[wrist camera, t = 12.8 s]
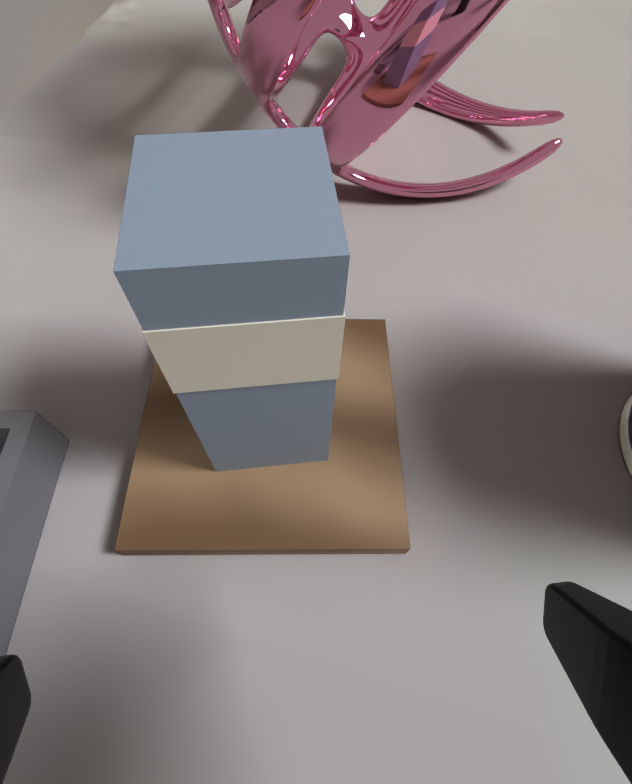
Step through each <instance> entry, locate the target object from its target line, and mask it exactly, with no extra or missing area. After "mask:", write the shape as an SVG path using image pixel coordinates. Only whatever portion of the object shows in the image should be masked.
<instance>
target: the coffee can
mask: <svg viewBox="0 0 632 784" xmlns="http://www.w3.org/2000/svg"><path fill="white" fill-rule="evenodd" d="M619 436H620V446H621V451H622V454H623V457H624V460H625V463H626V465H627V467H628V470H629V472H630V474H631V476H632V395H631V396H630V397H629V399H628V400H627V402H626V404H625V406H624V409H623V411H622V415H621V419H620V427H619Z"/></svg>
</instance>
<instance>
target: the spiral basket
mask: <svg viewBox="0 0 632 784" xmlns="http://www.w3.org/2000/svg"><path fill="white" fill-rule="evenodd" d="M207 1H208V3H209V6H210V9H211V12H212V14H213V17H214V20H215V22H216V25H217V27H218V30H219V32H220V35H221V37H222V39H223V42H224V44H225V46H226V48H227V51H228V53H229V55H230V57H231V59H232V61H233V63H234V65H235V67H236V69H237V71H238V73H239V75H240V76H241V78H242V80H243V82H244V83H245V85H246V87H247V88H248V90H249V91H250V93H251V94H252V96H253V97H254V99H255V100H256V102H257V103H258V104H259V106H260V107H261V108H262V110H263V111H264V112H265V114H266V115H267V116H268V117H269V118H270V120H271V121H272V122H273V123H274V124H275V125H276V127H277V128H298V126H297V125H296V124H295V123H294V122H293V121H292V120H291V119H290V118H289V117H288V116H287V115H286V113H285V112H284V111H283V110H282V108H281V107H280V106H279V105H278V103H277V102H276V100H275V99H276V98H277V96H278V95H279V94H280V92H281V91H282V90H283V88H284V87H285V86H286V84H287V83H288V82H289V80H290V79H291V77H292V76H293V75H294V73H295V72H296V70H297V69H298V67H299V66H300V64H301V63H302V62H303V60H304V59H305V57H306V56H307V54H308V53H309V51H310V50H311V48H312V47H313V45H314V44H315V42H316V41H317V40H318V38H319V37H320V36H321V35H323V34H324V33H331V34H333V35H335V36H336V37H337V38H338V39H339V40H340V41H341V43H342V44H343V46H344V48H345V50H346V54H347V59H346V63H345V66H344V68H343V70H342V72H341V74H340V75H339V77H338V78H337V80H336V81H335V83H334V85H333V86H332V88H331V89H330V91H329V92H328V94H327V96H326V97H325V99H324V101H323V102H322V104H321V105H320V107H319V109H318V110H317V112H316V114H315V115H314V117H313V119H312V121H311V122H310V124H309V126H308V127H319V126H322V129H323V133H324V138H325V143H326V147H327V152H328V156H329V161H330V166H331V170H332V173H333V174H335V175H337V176H339V177H340V178H342V179H345V180H347V181H349V182H351V183H353V184H356V185H358V186H361V187H364V188H367V189H370V190H373V191H376V192H380V193H384V194H389V195H394V196H401V197H410V198H440V197H449V196H456V195H461V194H466V193H470V192H474V191H478V190H481V189H485V188H488V187H491V186H493V185H496V184H499V183H501V182H503V181H506V180H508V179H510V178H512V177H514V176H517V175H519V174H520V173H522V172H524V171H526V170H528V169H530V168H531V167H533V166H535V165H536V164H538V163H540V162H541V161H543V160H544V159H546V158H547V157H549V156H550V155H551V154H553V153H554V152H555V151H556V150H557V149H558V148H559V147H560V145H561V144H562V139H561V138H556V139H553V140H551V141H549V142H547V143H545V144H543V145H541V146H540V147H538V148H536V149H535V150H533V151H531V152H529V153H528V154H526V155H524V156H522V157H521V158H519V159H517V160H515V161H513V162H511V163H509V164H506V165H504V166H502V167H499V168H497V169H494V170H492V171H489V172H486V173H483V174H480V175H477V176H473V177H469V178H465V179H460V180H455V181H448V182H438V183H413V182H403V181H397V180H391V179H387V178H383V177H379V176H376V175H373V174H370V173H367V172H364V171H362V170H359V169H357V168H355V167H353V166H351V165H349V164H348V163H349V162H351V161H352V160H354V159H355V158H356V157H358V156H359V155H360V154H362V153H363V152H364V151H365V150H366V149H368V148H369V147H370V146H371V145H372V144H373V143H374V142H376V141H377V140H378V139H379V138H380V137H381V136H382V135H383V134H384V133H385V132H386V131H387V130H388V129H390V128H391V127H392V126H393V125H394V124H395V123H396V122H397V121H398V120H399V119H400V118H401V117H402V116H403V115H404V114H405V113H406V112H407V111H408V110H409V109H410V108H411V107H412V106H413V105H414V104H415V103H416V102H417V103H419V104H421V105H423V106H425V107H427V108H429V109H431V110H433V111H436V112H438V113H441V114H444V115H446V116H449V117H452V118H456V119H459V120H463V121H467V122H472V123H477V124H483V125H491V126H503V127H523V126H536V125H544V124H550V123H554V122H557V121H559V120H561V119H562V118H563V117H564V114H563V113H562V112H560V111H552V110H544V111H529V110H517V109H510V108H504V107H499V106H495V105H491V104H488V103H484V102H481V101H478V100H476V99H473V98H470V97H468V96H465V95H463V94H461V93H459V92H457V91H455V90H453V89H451V88H449V87H447V86H445V85H443V84H442V83H440V82H438V81H437V80H438V79H439V78H440V77H441V76H442V74H443V73H444V72H445V71H446V70H447V69H448V68H449V67H450V66H451V65H452V64H453V63H454V62H455V60H456V59H457V58H458V57H459V56H460V55H461V54H462V53H463V52H464V51H465V50H466V48H467V47H468V46H469V45H470V44H471V43H472V42H473V41H474V40H475V38H476V37H477V36H478V35H479V34H480V33H481V32H482V31H483V30H484V28H485V27H486V26H487V25H488V24H489V23H490V22H491V21H492V19H493V18H494V17H495V16H496V15H497V14H498V13H499V11H500V10H501V9H502V8H503V7H504V6H505V5H506V3H507V2H508V1H509V0H389V1H388V2H387V3H386V5H385V6H384V7H383V9H382V10H381V11H380V12H379V13H378V14H376V15H375V16H373V17H368V16H365V15H364V14H362V13H361V12H360V11H359V9H358V8H357V6H356V4H355V1H354V0H253V2H252V4H251V7H250V10H249V14H248V17H247V20H246V23H245V27H244V30H243V34H242V38H241V40H240V38H239V36H238V33H237V31H236V28H235V26H234V23H233V21H232V18H231V15H230V12H229V8H232V7H234V6H235V5H237V4H238V3H239V2H241V1H242V0H207Z"/></svg>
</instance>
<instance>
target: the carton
mask: <svg viewBox="0 0 632 784" xmlns="http://www.w3.org/2000/svg"><path fill="white" fill-rule="evenodd" d="M349 257H350V254H349V249H348V245H347V240H346V235H345V231H344V226H343V221H342V217H341V212H340V207H339V203H338V198H337V194H336V189H335V184H334V180H333V175H332V170H331V166H330V161H329V156H328V152H327V147H326V143H325V138H324V133H323V129H322V126H319V127H298V128H277V129H256V130H235V131H214V132H193V133H172V134H151V135H135V139H134V145H133V151H132V158H131V164H130V170H129V176H128V183H127V189H126V195H125V201H124V208H123V214H122V220H121V227H120V233H119V239H118V245H117V252H116V258H115V264H114V270H113V272H114V274H115V276H116V278H117V279H118V281H119V283H120V285H121V287H122V289H123V291H124V293H125V295H126V297H127V299H128V301H129V303H130V305H131V307H132V309H133V311H134V313H135V315H136V316H137V318H138V320H139V322H140V324H141V326H142V334H143V336H144V338H145V340H146V342H147V344H148V346H149V348H150V350H151V351H152V353H153V355H154V357H155V359H156V361H157V363H158V365H159V367H160V369H161V371H162V373H163V374H164V376H165V378H166V380H167V382H168V384H169V386H170V388H171V390H172V392H173V394H175V393H176V394H177V396H178V398H179V400H180V402H181V404H182V406H183V408H184V410H185V412H186V414H187V416H188V418H189V420H190V422H191V424H192V426H193V428H194V430H195V432H196V433H197V435H198V437H199V439H200V441H201V443H202V445H203V447H204V449H205V451H206V453H207V455H208V457H209V459H210V461H211V463H212V465H213V467H214V469H215V470H216V472H218V471H228V470H238V469H248V468H257V467H267V466H277V465H287V464H297V463H306V462H316V461H326V460H328V455H329V446H330V436H331V427H332V418H333V408H334V399H335V389H336V380H337V379H339V370H340V362H341V353H342V344H343V335H344V326H345V317H346V316H345V311H344V305H345V295H346V286H347V276H348V267H349Z"/></svg>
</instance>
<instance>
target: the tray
mask: <svg viewBox="0 0 632 784" xmlns="http://www.w3.org/2000/svg"><path fill="white" fill-rule="evenodd" d="M68 443H69V440H68V439H67V438H66V437H65V436H64V435H63V434H62V433H60V432H59V431H58V430H57V429H56V428H55V427H54V426H52V425H51V424H50V423H49V422H48V421H47V420H46V419H45V418H43V417H42V416H41V415H40V414H39V413H38V412H37V411H0V656H5V655H6V651H7V648H8V644H9V641H10V638H11V634H12V631H13V628H14V624H15V621H16V617H17V614H18V611H19V607H20V604H21V601H22V597H23V594H24V591H25V587H26V584H27V580H28V577H29V574H30V570H31V567H32V564H33V560H34V557H35V554H36V550H37V547H38V543H39V540H40V537H41V533H42V530H43V527H44V523H45V520H46V517H47V513H48V510H49V506H50V503H51V500H52V496H53V493H54V490H55V486H56V483H57V480H58V476H59V473H60V469H61V466H62V463H63V459H64V456H65V453H66V449H67V446H68Z"/></svg>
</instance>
